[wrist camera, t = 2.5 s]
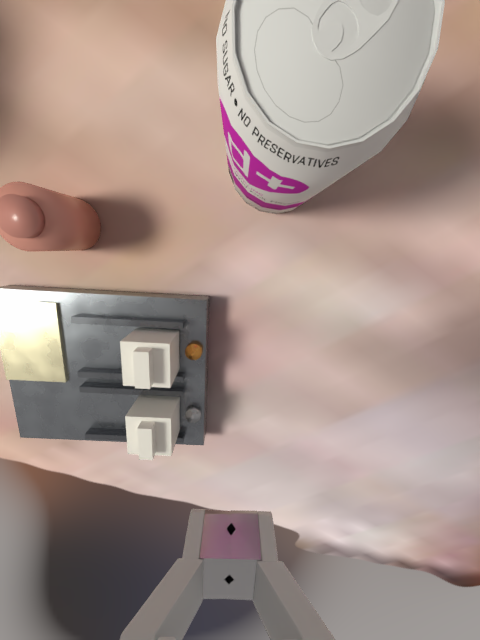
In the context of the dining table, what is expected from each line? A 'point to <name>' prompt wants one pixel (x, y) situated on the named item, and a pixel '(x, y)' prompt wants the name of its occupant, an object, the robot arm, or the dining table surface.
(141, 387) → the toggle
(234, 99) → the supplement can
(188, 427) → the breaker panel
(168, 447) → the toggle
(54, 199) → the cap
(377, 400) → the dining table surface
